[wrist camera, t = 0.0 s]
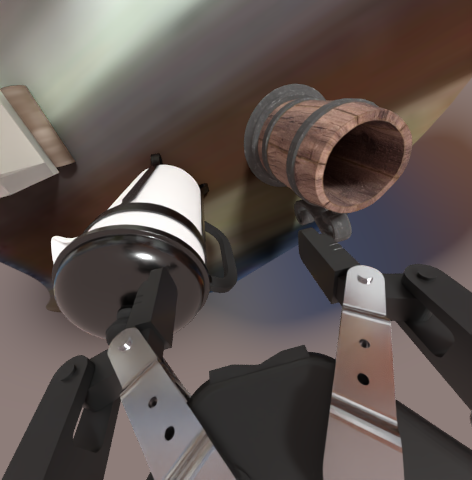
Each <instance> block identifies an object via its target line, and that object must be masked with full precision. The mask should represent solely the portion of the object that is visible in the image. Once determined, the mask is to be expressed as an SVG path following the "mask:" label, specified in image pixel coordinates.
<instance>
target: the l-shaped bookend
mask: <svg viewBox="0 0 472 480" xmlns="http://www.w3.org/2000/svg"><path fill="white" fill-rule="evenodd" d="M58 173H59V171H58V170H57V168H56V167H55V166H54V164H53V163H52V162H51V160H50V159H49V157H48V156H47V155H46V153H45V152H44V150H43V149H42V148H41V146H40V145H39V143H38V142H37V141H36V139H35V138H34V136H33V135H32V134H31V132H30V131H29V130H28V128H27V127H26V125H25V124H24V123H23V121H22V120H21V118H20V117H19V116H18V114H17V113H16V111H15V110H14V109H13V107H12V106H11V104H10V103H9V102H8V100H7V99H6V98H5V96H4V95H3V93H2V92H1V91H0V198H1V197H5V196H9V195H12V194H14V193H16V192H18V191H21V190H23V189H25V188H27V187H29V186H31V185H34V184H36V183H38V182H40V181H42V180H45V179H47V178H49V177H51V176H53V175H55V174H58Z"/></svg>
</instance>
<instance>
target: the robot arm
mask: <svg viewBox="0 0 472 480" xmlns="http://www.w3.org/2000/svg"><path fill="white" fill-rule="evenodd" d="M298 240H299V254H300V257H301V259H302V261H303V263H304V264H305V266H306V267H307V269H308V270H309V272H310V273H311V275H312V276H313V278H314V279H315V280H316V282H317V283H318V285H319V286H320V288H321V289H322V290H323V292H324V294H325V295H326V296H327V298H328V300H329V301H330V302H331V304H334V303H337V302H339V303H340V304H341V306H342V313H341V320H340V327H339V336H338V342H337V350H336V357H335V359H333V358H332V357H329V356H327V355H324V354H320V353H315V352H307V350H306V347H305V345H302V346H298V347H295V348H291V349H287V350H284V351H281V352H279V353H277V354H276V355H274V356H273V357H271V358H269V359H268V360H266V361H264V362H263V363H262V364H259V365H230V366H226V367H222V368H219V369H215V370H211V371H209V377H210V379H209V380H208V381H206V382H205V383H204V384H202V385H201V386H200V387H199V388H198V389H197V390H196V391H195V393H194V394H193V395H192V396H191V395H190V393H189V392H188V391H187V390H186V388H185V387H184V386H183V384H182V383H181V382H180V380H179V379H178V377H177V376H176V375H175V373H174V372H173V370H172V369H171V367H170V366H169V365H168V363H167V362H166V360H165V359H164V358H163V351H164V349H168V348H171V347H172V340H173V331H174V322H175V313H176V305H177V296H178V291H177V287H176V284H175V282H174V281H173V279H172V277H171V275H170V274H169V272H168V270H167V269H166V268H165V267H162V268H158V269H154V270H151V272H150V275H149V278H148V280H147V281H144V282H143V284H142V285H141V286H140V288H139V289H138V292H137V295H136V298H135V301H134V305H133V307H132V310H131V313H130V316H129V319H128V322H127V325H126V328H125V330H123V331H122V332H120V333H119V334H118V335H117V336H116V337H115V338H114V339H113V340H112V341H111V343H110V345H109V347H108V349H107V350H105V351H103V352H102V353H100V354H98V355H97V356H95V357H93V358H91V359H88V358H87V357H85V356H83V355H80V356H76V357H73V358H72V359H70V360H68V361H67V362H66V363H64V364H63V365H62V366H61V367H60V368H59V369H58V370H57V372H56V373H55V374H54V376H53V378H52V380H51V382H50V384H49V386H48V388H47V390H46V392H45V394H44V396H43V398H42V400H41V402H40V404H39V406H38V408H37V410H36V412H35V414H34V416H33V418H32V420H31V422H30V424H29V426H28V428H27V430H26V432H25V434H24V436H23V438H22V440H21V442H20V444H19V446H18V448H17V450H16V452H15V454H14V456H13V458H12V460H11V462H10V464H9V466H8V468H7V470H6V472H5V474H4V476H3V478H2V480H103V479H104V474H105V469H106V465H107V460H108V456H109V451H110V447H111V442H112V437H113V433H114V429H115V424H116V419H117V415H118V411H119V406H120V402H121V401H122V403H123V406H124V408H125V410H126V413H127V415H128V418H129V420H130V423H131V425H132V427H133V430H134V432H135V435H136V437H137V439H138V442H139V444H140V447H141V449H142V451H143V454H144V456H145V458H146V461H147V463H148V466H149V468H150V471H151V472H150V474H149V476H148V478H147V479H146V480H472V450H471V449H469V448H468V447H466V446H465V445H463V444H462V443H460V442H459V441H457V440H456V439H454V438H453V437H451V436H450V435H448V434H447V433H445V432H444V431H442V430H441V429H439V428H438V427H436V426H435V425H433V424H432V423H430V422H429V421H427V420H426V419H424V418H423V417H422V416H420V415H419V414H417V413H415V412H414V411H413V410H411V409H410V408H408V407H406V406H405V405H404V404H402V403H401V402H399V401H397V400H396V399H395V384H394V369H393V368H394V367H393V351H392V336H391V322H390V321H396V322H397V323H398V325H399V326H400V327H401V328H402V329H403V330H404V332H405V333H406V334H407V335H408V336H409V338H410V339H411V340H412V341H413V342H414V344H415V345H416V346H417V347H418V348H419V349H420V351H421V352H422V353H423V354H424V355H425V357H426V358H427V359H428V360H429V361H430V362H431V364H432V365H433V366H434V367H435V368H436V370H437V371H438V372H439V373H440V374H441V375H442V377H443V378H444V379H445V380H446V381H447V383H448V384H449V385H450V386H451V387H452V388H453V389H454V391H455V392H456V393H457V394H458V395H459V397H460V398H461V399H462V400H463V401H464V403H465V404H466V405H467V406H468V407H469V409H470V410H471V413H470V423H471V425H472V293H471V292H470V291H469V290H467V289H466V288H465V287H463V286H462V285H460V284H459V283H458V282H456V281H455V280H454V279H452V278H451V277H449V276H448V275H447V274H445V273H444V272H442V271H441V270H439V269H437V268H434V267H432V266H428V265H422V264H414V265H410V266H408V267H407V268H406V269H405V271H404V273H403V274H381V273H380V272H379V271H378V270H376V269H374V268H372V267H368V266H362V265H360V264H359V263H358V262H357V261H356V260H355V259H354V258H353V257H352V256H351V255H350V254H349V253H348V252H347V251H346V250H345V249H343V248H342V246H341V245H340V244H338V243H337V242H336V241H335V240H334V239H333V238H332V237H331V236H329V235H326V234H324V233H322V234H319V233H318V232H317V231H316V230H315V229H314V228H312V227H311V228H307V229H303V230H300V231H299V232H298ZM82 407H83V408H84V410H83V412H82V415H81V419H80V421H79V424H78V427H77V430H76V433H75V436H74V439H73V432H74V429H75V426H76V423H77V421H78V418H79V415H80V412H81V409H82Z"/></svg>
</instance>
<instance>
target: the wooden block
mask: <svg viewBox="0 0 472 480" xmlns="http://www.w3.org/2000/svg"><path fill="white" fill-rule="evenodd" d="M0 91H1V92H2V93H3V95H4V96H5V98H6V99H7V100H8V102H9V103H10V104H11V106H12V107H13V109H14V110H15V111H16V113H17V114H18V116H19V117H20V118H21V120H22V121H23V123H24V124H25V125H26V127H27V128H28V130H29V131H30V132H31V134H32V135H33V136H34V138H35V139H36V141H37V142H38V143H39V145H40V146H41V148H42V149H43V150H44V152H45V153H46V155H47V156H48V157H49V159H50V160H51V162H52V163H53V164H54V166H55V167H61V166H64V165H68V164H71V163H73V162H75V160H74V159H73V157H72V156H71V154H70V153H69V151H68V150H67V148H66V147H65V145H64V144H63V142H62V141H61V139H60V137H59V136H58V134H57V133H56V131H55V130H54V128H53V127H52V125H51V124H50V122H49V121H48V119H47V118H46V116H45V114H44V113H43V111H42V110H41V108H40V107H39V105H38V104H37V102H36V101H35V99H34V98H33V96H32V95H31V93H30V92H29V90H28V88H27V87H26V86H24V85H15V86H8V87H4V88H1V89H0Z"/></svg>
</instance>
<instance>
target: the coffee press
mask: <svg viewBox="0 0 472 480" xmlns="http://www.w3.org/2000/svg"><path fill="white" fill-rule="evenodd" d="M207 192H209V188H208V184H207V183H204V184H201V185H199V186H198V184H197V183H196V181H195V180H194V179H193V178H192V177H191V176H190V175H189V174H188V173H187V172H185V171H184V170H182V169H180V168H178V167H175V166H171V165H163V163H162V158H161V156H160V154H159V153H157V154H152V155H151V166H150V167H149V168H148V169H146V170H145V171H143V172H142V173H141V174H140V175H139V176H138V177H137V178H136V179H135V180H134V181H133V182H132V183H131V184H130V185H129V187H128V188H127V189H126V190H125V191H124V192H123V193H122V194H121V195H120V196H119V198H118V199H117V200H116V201H115V202H114V203H113V204H112V205H111V206H110V208H109V209H108V210H107V211H105V212H103V213H102V214H100V215H99V216H98V217H97V218H96V219H95V220H94V221H93V222H92V223H91V224H90V225H89V226H88V227H87V229H86V230H85V231H84V232H83V234H82V235H80V236H78V237H76V238H64V237H60V236H54V237H52V240H51V249H52V257H53V263H54V265H53V269H52V282H53V286H54V295H55V299H56V302H57V305H58V307H59V309H60V310H61V312H62V313H63V314H64V316H65V317H66V318H67V319H68V320H69V321H70V322H71V323H72V324H74V325H75V326H76V327H78V328H80V329H81V330H83V331H84V332H87V333H88V334H91V335H93V336H96V337H99V338H102V339H105V340H107V343H108V345H110V343H111V341H112V340H113V339H114V338H115V337H116V336H117V335H118V334H119V333H120V332H122V331H123V330H125V328H126V325H127V322H128V319H129V316H130V313H131V310H132V307H133V305H134V301H135V298H136V295H137V292H138V289H139V288H140V286H141V285H142V284H143V282H144V281H147V280H148V278H149V275H150V272H151V270H154V269H158V268H162V267H165V268H166V269H167V270H168V272H169V274H170V275H171V277H172V279H173V281H174V282H175V284H176V287H177V291H178V296H177V305H176V313H175V322H174V331H173V334H174V333H175V332H178V331H179V330H181V329H182V328H184V327H185V326H186V325H188V324H189V323H190V322H191V321H192V320H193V319H194V317H195V316H196V315H197V313H198V312H199V311H200V309H201V308H202V307H203V306H204V304H205V302H206V300H207V298H208V294H209V290H210V291H213V292H218V293H225V292H228V291H229V290H230V289H231V288H232V287H233V286H234V285H235V284H236V282H237V270H236V265H235V261H234V256H233V252H232V248H231V245H230V243H229V241H228V239H227V238H226V236H225V235H224V234H223V233H222V232H221V231H220V230H218V229H217V228H216V227H214V226H213V225H211V224H209V223H207V222H206V221H204V202H203V196H204V195H205V194H206V193H207ZM95 222H96V223H95ZM94 223H95V224H94ZM93 224H94V225H93ZM92 225H93V226H92ZM205 231H206V232H208V233H210V234H211V235H213V236H214V237H215V238H216V239H217V241H218V242H219V244H220V248H221V255H222V261H223V268H224V278H218V277H214V276H210V275H209V274H208V270H207V267H206V265H207V259H206V246H205ZM204 254H205V259H204Z"/></svg>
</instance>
